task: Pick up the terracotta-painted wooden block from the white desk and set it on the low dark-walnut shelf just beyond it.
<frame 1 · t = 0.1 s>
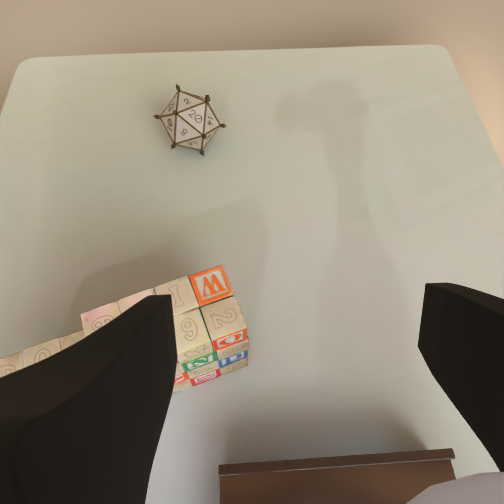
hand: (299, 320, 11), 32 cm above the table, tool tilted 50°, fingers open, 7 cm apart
game die: (194, 143, 58), on the table
stack of blocks: (144, 375, 42), on the table
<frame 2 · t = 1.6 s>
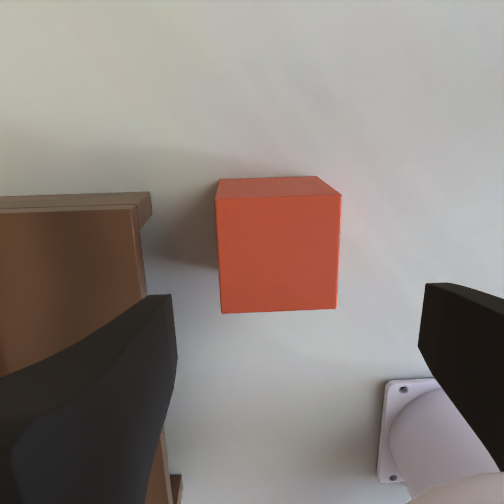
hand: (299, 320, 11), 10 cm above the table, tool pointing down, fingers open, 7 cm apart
shelf: (100, 363, 23), on the table
block: (268, 225, 21), on the table
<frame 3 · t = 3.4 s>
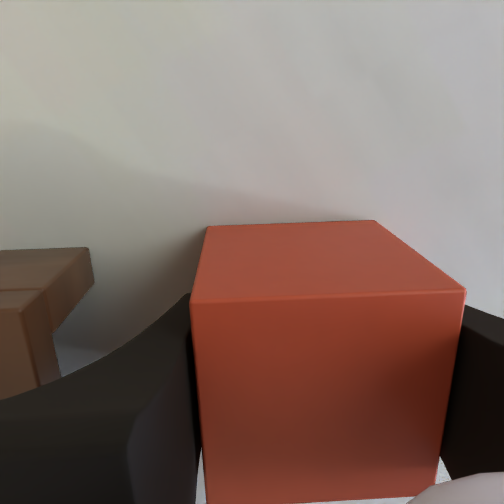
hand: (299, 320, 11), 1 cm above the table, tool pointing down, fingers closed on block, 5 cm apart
block: (291, 299, 13), on the table, touching gripper
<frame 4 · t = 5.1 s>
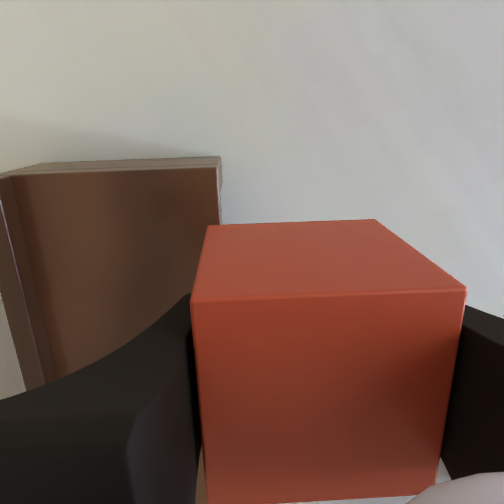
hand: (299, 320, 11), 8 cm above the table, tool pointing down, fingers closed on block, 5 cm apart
shelf: (156, 352, 21), on the table
block: (291, 298, 13), point 7 cm above the table, touching gripper
when the fingers open (5 cm above the table, at t = 7.2 s): block stays where it is, resting on shelf.
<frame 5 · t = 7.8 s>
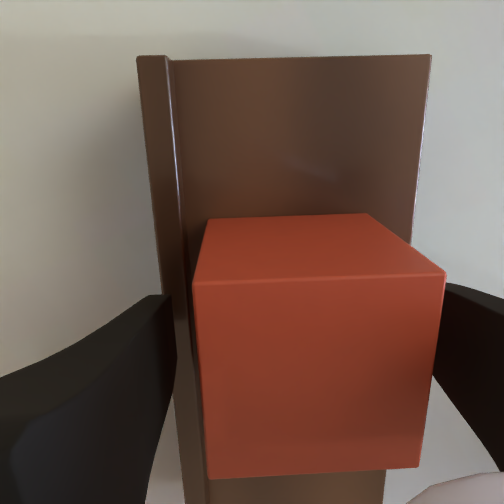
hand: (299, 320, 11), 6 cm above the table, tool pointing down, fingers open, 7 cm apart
shelf: (277, 313, 18), on the table
block: (287, 288, 13), point 4 cm above the table, touching shelf
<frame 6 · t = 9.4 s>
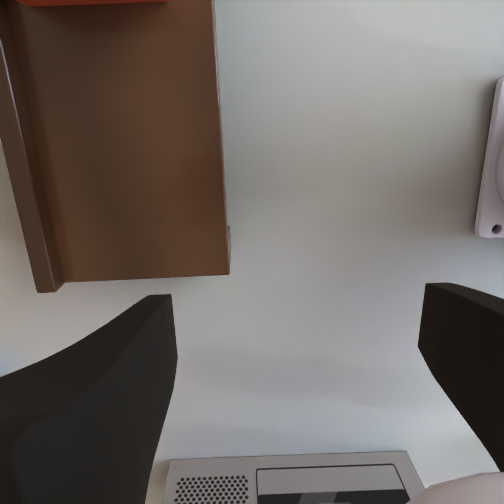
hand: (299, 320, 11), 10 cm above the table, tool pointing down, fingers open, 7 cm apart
shelf: (130, 41, 18), on the table
cassette player: (288, 468, 27), on the table
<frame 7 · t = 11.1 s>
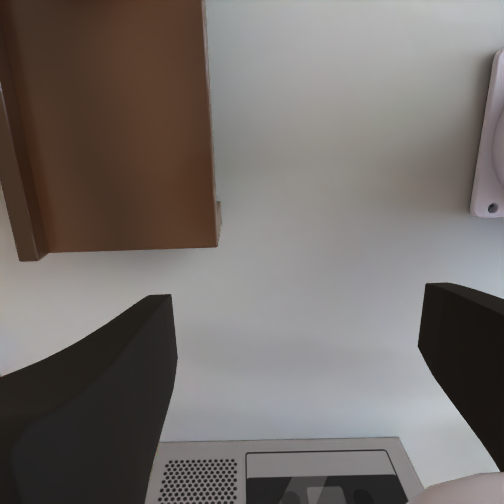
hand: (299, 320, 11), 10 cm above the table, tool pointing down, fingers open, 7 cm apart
shelf: (119, 7, 18), on the table
cassette player: (279, 453, 27), on the table
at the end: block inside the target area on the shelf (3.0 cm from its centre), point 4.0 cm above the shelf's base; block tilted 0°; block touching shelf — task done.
